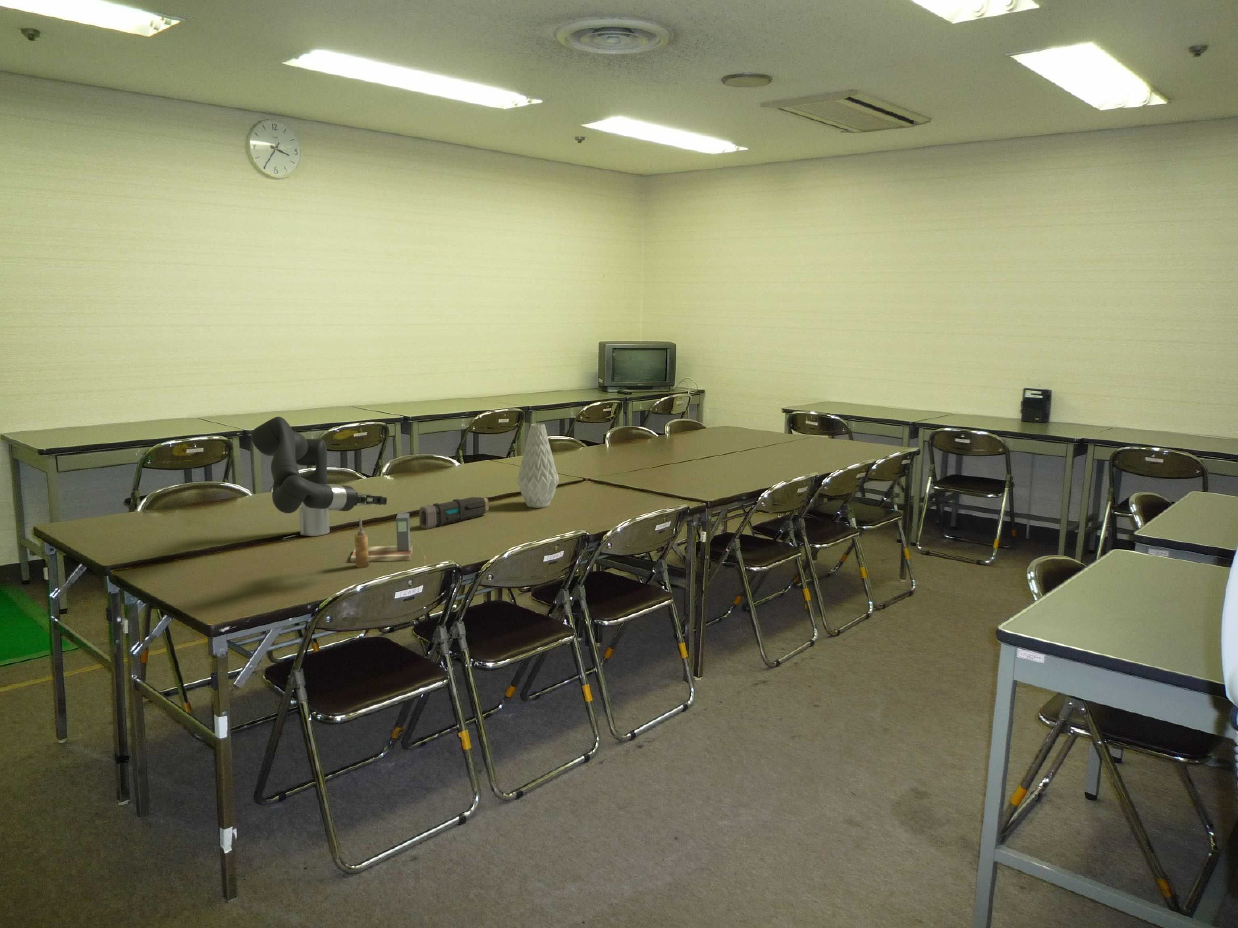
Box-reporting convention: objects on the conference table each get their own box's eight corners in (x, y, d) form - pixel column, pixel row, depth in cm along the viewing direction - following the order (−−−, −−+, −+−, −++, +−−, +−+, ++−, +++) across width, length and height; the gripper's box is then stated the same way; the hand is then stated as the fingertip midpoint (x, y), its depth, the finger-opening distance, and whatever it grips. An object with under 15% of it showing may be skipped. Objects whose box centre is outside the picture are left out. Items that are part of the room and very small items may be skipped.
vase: (565, 507, 354) (565, 426, 348) (525, 511, 347) (525, 428, 341) (550, 499, 369) (550, 420, 363) (512, 502, 362) (511, 422, 356)
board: (350, 562, 279) (350, 557, 279) (356, 551, 291) (356, 546, 290) (409, 560, 282) (409, 555, 281) (412, 549, 293) (412, 545, 293)
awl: (355, 567, 273) (353, 520, 270) (356, 564, 277) (354, 517, 274) (367, 567, 274) (366, 520, 271) (369, 563, 277) (367, 517, 274)
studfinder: (397, 551, 286) (396, 518, 284) (399, 545, 292) (398, 513, 290) (408, 551, 286) (407, 517, 284) (410, 545, 293) (409, 513, 291)
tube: (493, 524, 339) (429, 529, 316) (481, 525, 344) (417, 530, 321) (491, 495, 340) (427, 498, 317) (479, 497, 344) (415, 500, 322)
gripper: (355, 485, 254) (394, 488, 268) (318, 483, 260) (358, 487, 275) (353, 511, 253) (392, 513, 268) (316, 509, 260) (356, 512, 274)
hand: (375, 500), depth 271 cm, fingers open, 8 cm apart
